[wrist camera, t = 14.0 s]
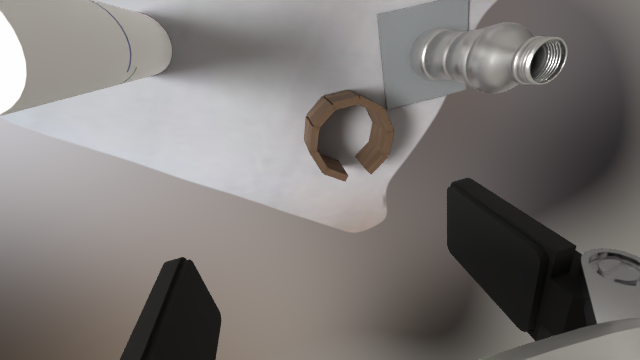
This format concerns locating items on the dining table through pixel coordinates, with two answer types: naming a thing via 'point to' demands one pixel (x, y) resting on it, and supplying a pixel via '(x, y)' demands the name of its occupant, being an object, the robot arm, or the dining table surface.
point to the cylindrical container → (73, 50)
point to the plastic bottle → (488, 57)
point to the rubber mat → (397, 44)
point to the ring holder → (370, 153)
